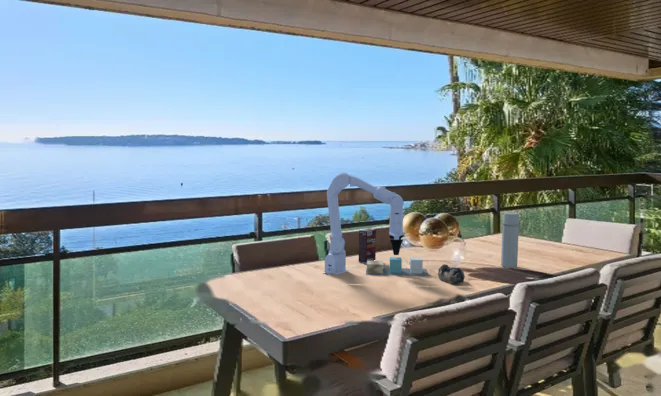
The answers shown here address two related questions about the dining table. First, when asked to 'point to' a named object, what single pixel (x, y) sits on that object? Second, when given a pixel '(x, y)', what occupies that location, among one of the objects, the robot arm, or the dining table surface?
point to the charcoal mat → (404, 273)
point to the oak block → (375, 267)
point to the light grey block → (416, 265)
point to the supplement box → (367, 245)
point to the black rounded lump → (451, 274)
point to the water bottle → (510, 240)
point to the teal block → (395, 265)
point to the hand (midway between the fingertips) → (395, 253)
